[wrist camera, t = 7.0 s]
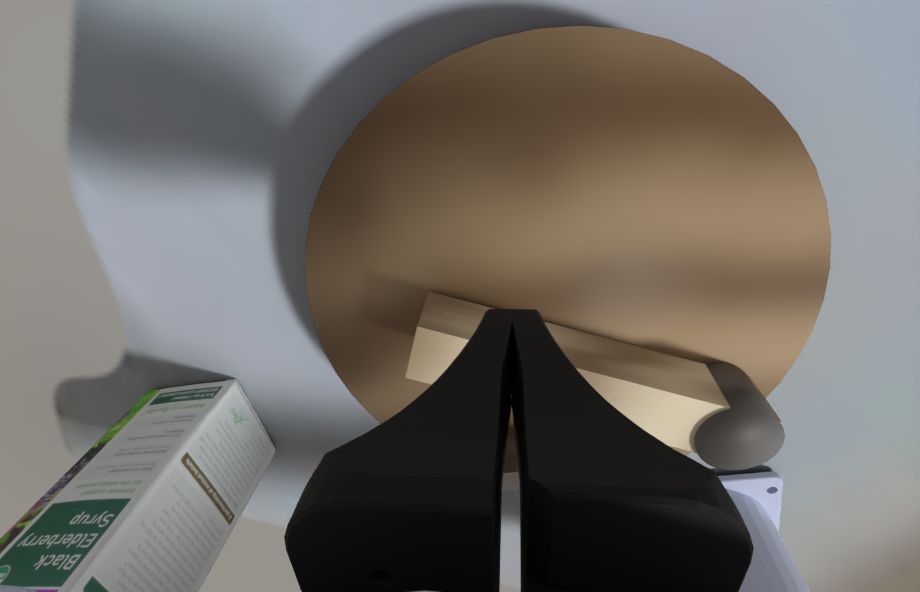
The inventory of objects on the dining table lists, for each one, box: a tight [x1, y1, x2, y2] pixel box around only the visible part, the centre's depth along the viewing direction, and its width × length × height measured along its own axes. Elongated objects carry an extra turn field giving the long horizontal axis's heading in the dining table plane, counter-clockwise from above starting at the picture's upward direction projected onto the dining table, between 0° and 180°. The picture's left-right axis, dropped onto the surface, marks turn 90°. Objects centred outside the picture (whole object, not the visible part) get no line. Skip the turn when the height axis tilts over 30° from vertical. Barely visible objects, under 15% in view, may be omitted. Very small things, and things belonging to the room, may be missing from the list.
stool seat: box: [305, 26, 831, 492], centre depth 19 cm, size 20×20×4 cm
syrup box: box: [0, 379, 276, 592], centre depth 21 cm, size 6×6×14 cm
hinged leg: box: [405, 291, 785, 470], centre depth 18 cm, size 14×3×3 cm, turn 76°
